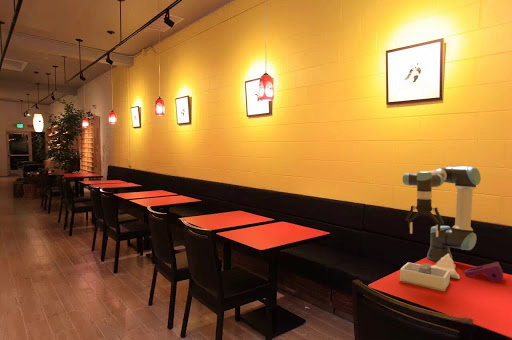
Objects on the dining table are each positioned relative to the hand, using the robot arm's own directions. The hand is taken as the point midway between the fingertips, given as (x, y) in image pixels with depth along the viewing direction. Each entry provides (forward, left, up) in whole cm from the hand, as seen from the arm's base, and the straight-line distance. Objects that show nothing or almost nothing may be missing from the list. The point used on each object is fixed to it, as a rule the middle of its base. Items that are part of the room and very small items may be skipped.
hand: (423, 234), depth 190 cm
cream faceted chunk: (-11, +10, -25) cm, 29 cm away
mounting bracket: (-23, +27, -25) cm, 44 cm away
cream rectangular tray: (+8, +3, -25) cm, 26 cm away
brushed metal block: (+7, +3, -24) cm, 25 cm away
